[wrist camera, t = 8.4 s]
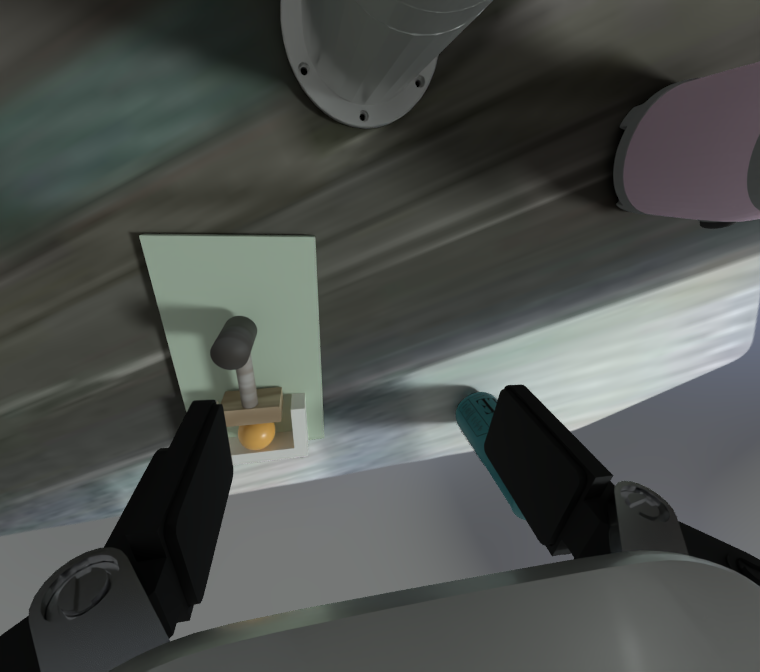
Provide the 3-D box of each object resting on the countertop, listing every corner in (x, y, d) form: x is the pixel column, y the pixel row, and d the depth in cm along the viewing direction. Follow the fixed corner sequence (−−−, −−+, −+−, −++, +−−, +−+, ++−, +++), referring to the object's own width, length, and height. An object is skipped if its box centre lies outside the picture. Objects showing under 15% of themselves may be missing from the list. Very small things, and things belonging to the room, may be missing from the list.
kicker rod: (209, 310, 32) (186, 340, 26) (273, 308, 33) (265, 336, 27) (228, 406, 36) (212, 449, 30) (283, 401, 38) (278, 442, 32)
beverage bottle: (451, 427, 47) (540, 577, 29) (446, 391, 44) (541, 534, 26) (493, 413, 47) (605, 552, 29) (491, 377, 44) (614, 508, 26)
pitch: (144, 233, 29) (138, 235, 28) (314, 235, 32) (315, 237, 31) (199, 446, 39) (197, 452, 38) (323, 432, 42) (324, 438, 41)
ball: (236, 460, 35) (243, 438, 39) (275, 455, 36) (278, 434, 39) (231, 427, 34) (239, 408, 37) (271, 423, 34) (275, 405, 38)
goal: (203, 401, 36) (195, 418, 33) (305, 392, 38) (304, 408, 35) (214, 448, 39) (208, 468, 36) (308, 438, 41) (308, 456, 38)
